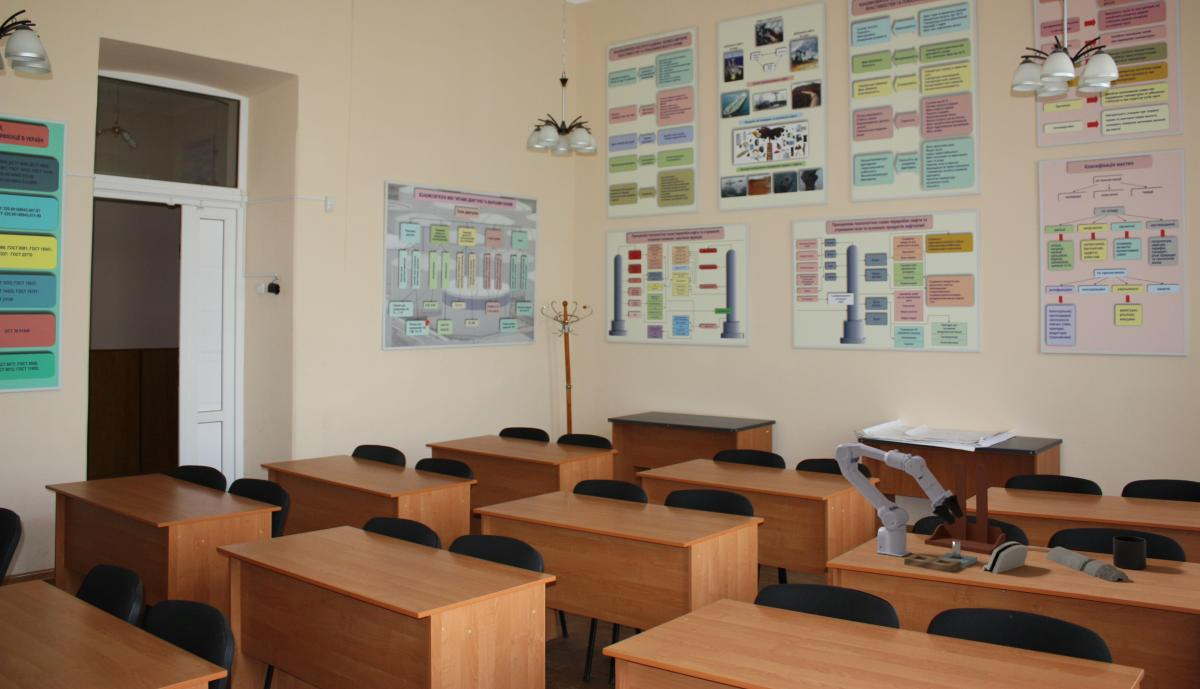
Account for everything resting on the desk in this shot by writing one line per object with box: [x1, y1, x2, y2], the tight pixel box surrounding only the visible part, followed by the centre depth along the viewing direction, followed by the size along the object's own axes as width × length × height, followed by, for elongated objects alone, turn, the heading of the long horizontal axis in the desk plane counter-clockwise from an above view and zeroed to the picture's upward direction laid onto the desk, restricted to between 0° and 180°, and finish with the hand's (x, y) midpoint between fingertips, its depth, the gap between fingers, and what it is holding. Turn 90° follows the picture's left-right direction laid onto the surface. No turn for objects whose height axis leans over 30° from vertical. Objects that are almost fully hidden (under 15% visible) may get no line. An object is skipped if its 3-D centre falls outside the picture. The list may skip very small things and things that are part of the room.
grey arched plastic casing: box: [982, 541, 1029, 574], centre depth 309 cm, size 17×5×10 cm, turn 125°
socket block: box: [937, 552, 978, 568], centre depth 319 cm, size 10×10×2 cm
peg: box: [951, 541, 962, 559], centre depth 319 cm, size 3×3×7 cm
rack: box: [903, 553, 962, 573], centre depth 315 cm, size 16×8×2 cm, turn 46°
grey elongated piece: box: [1046, 546, 1130, 583], centre depth 307 cm, size 9×4×30 cm
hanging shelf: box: [924, 461, 1007, 556], centre depth 341 cm, size 24×13×30 cm, turn 43°
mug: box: [1112, 535, 1147, 571], centre depth 310 cm, size 9×12×9 cm
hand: (956, 520), depth 318 cm, fingers open, 7 cm apart
